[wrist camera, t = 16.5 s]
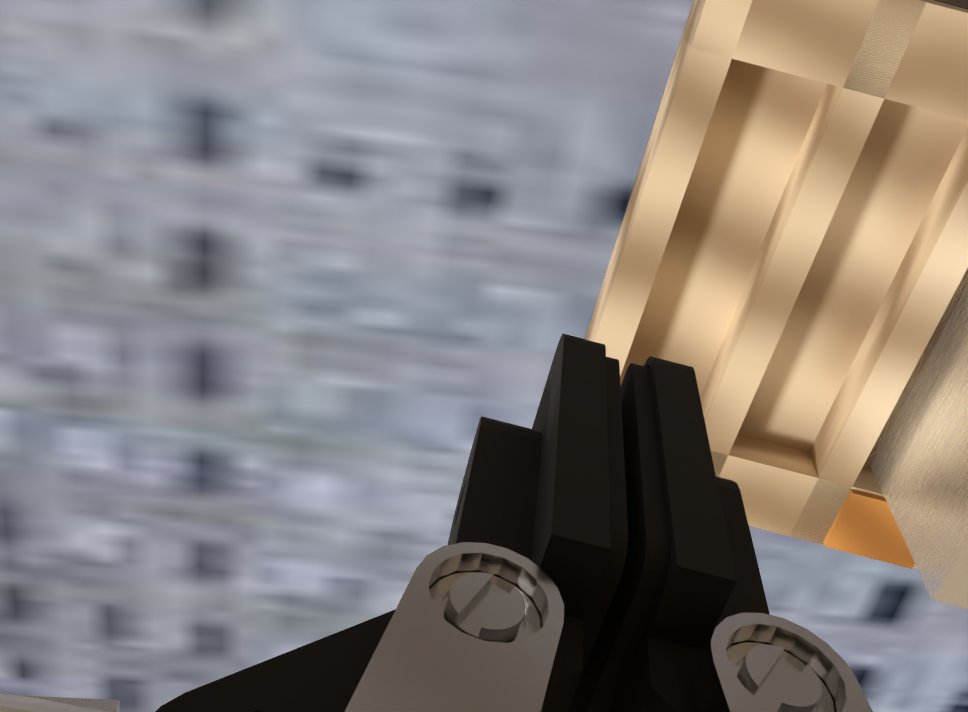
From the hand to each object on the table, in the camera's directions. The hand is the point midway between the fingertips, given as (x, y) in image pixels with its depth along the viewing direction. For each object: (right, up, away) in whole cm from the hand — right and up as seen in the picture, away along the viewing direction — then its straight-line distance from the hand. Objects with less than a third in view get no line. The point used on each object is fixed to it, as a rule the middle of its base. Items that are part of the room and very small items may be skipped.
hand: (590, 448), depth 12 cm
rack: (+13, +4, +27) cm, 30 cm away
